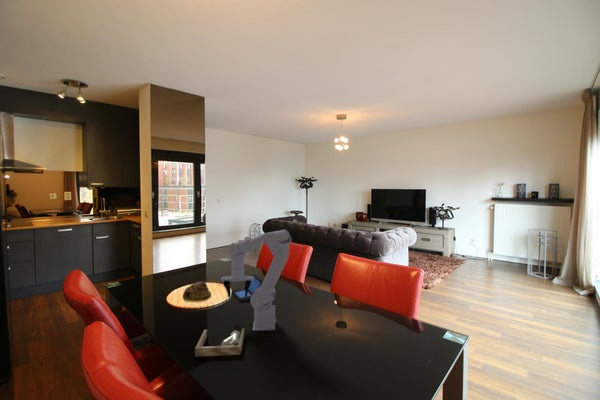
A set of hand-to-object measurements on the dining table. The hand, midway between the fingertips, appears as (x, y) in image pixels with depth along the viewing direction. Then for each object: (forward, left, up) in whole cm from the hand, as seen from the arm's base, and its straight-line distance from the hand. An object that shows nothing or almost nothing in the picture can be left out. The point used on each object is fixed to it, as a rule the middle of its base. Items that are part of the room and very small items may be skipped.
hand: (237, 296), depth 129 cm
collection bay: (+3, +23, -9) cm, 25 cm away
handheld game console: (-2, -25, -10) cm, 27 cm away
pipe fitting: (0, +24, -10) cm, 26 cm away
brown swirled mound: (+26, -26, -10) cm, 38 cm away
